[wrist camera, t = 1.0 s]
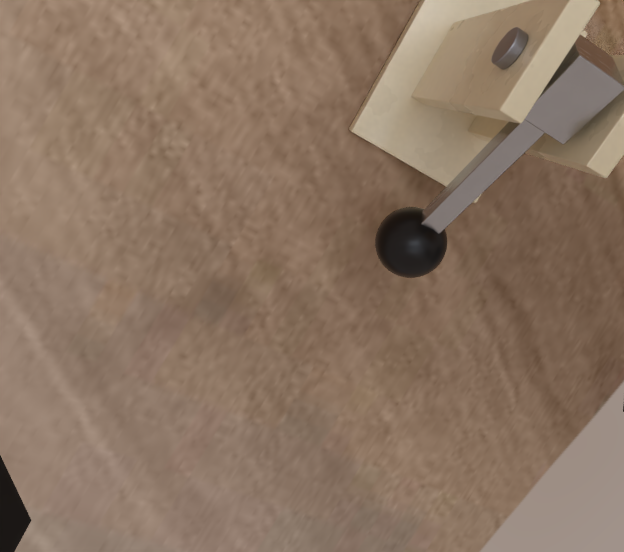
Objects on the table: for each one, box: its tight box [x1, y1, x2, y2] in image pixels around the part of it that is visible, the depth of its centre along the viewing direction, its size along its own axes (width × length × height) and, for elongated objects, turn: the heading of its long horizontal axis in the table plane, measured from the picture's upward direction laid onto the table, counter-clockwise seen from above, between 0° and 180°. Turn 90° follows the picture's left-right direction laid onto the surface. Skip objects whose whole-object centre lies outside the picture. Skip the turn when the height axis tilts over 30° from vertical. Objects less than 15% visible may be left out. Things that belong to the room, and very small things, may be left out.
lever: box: [375, 34, 624, 278], centre depth 24 cm, size 13×4×4 cm, turn 151°
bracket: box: [349, 0, 624, 203], centre depth 25 cm, size 11×9×14 cm
